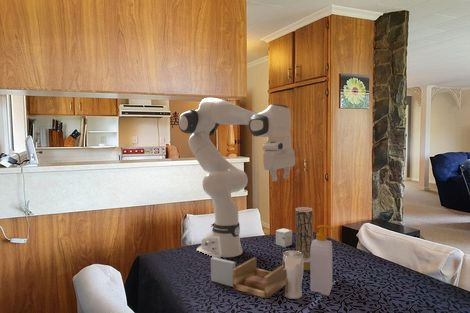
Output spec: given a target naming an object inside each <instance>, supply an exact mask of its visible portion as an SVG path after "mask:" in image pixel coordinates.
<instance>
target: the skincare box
mask: <svg viewBox="0 0 470 313" xmlns="http://www.w3.org/2000/svg"><path fill="white" fill-rule="evenodd" d="M275 245H277V246H279V247H284V248H285V247H289V246H292V245H293V230H292V229H289V228H279V229H277V230H276V229H275Z"/></svg>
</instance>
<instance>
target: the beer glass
mask: <svg viewBox="0 0 470 313" xmlns="http://www.w3.org/2000/svg"><path fill="white" fill-rule="evenodd" d="M282 265H283V274H284V280H285V285H284V287H285V290H284V296H285V297H286V298H288V299H292V300H296V299H301V298H302V297H303V291H302V284H303V280H304V279H303V277H304V271H305V270H304V262H303V253H301V252H299V251H296V250H287V251H284V252H283V254H282Z"/></svg>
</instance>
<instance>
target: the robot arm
mask: <svg viewBox="0 0 470 313" xmlns="http://www.w3.org/2000/svg"><path fill="white" fill-rule="evenodd" d="M177 123H178V124H177V125H178V128H179V130H180V131H181V132H182V133H184V134H188V135H190V136H189V138H188V141H187V142H188V146H189V149H190V151H191V153H192V154H193V156H194V158H195V159H196V161H197V162H198V164H199V165H200V167H201V168H202V170H204V171H205V172H206V173H208V174H206V175H205V176H204V177H203V180H202V189H203V191H204V192H205V194H207V195H208V197H210V199H211V201H212V204H213V208H214V223H212V224H210V228H211V227H212V229H211V230H210V231H209V232H208V233H207V234H205V235H204V237H202V239H201V243H200V245H199V246H198V247H197V248H196V252H197V251H199V252H198V253H200V252H202V253H204V254H203V255H205V254H207V255H206V256H208V255H209V256H208V257H210V256H212V257H211V258H213V257H216V258H220V259H222V258H221V257H223V258H234V257H238V256H240V255H242V254H243V252H244V251H243V248H242V245H241V240H240V230H241V229H240V222H239V206H238V204H237V203H235V202H234V200H233V197H232V193H238V192H239V191H241V190H243V189H245V188H246V187H247V185H248V181H249V178H248V176H247V173H246V172H245V171H243V170H242V169H239V168H237V167H236V166H235V165H233V164H232V163H230V162H229V161H228V160H227V159H226V158H224V156H223V155H222V154H221V153H220V151H219V150H218V148H217V147H216V145H215V144H214V143H213V141H211V137H210V136H214V135H215V132H216V131H217V130H218V128H219V125H223V126H224V125H225V126H230V125H232V126H236V125H238V126H239V125H245V126H248V130H249V132H250V134H251V135H252V136H253V137H257V138H268V140H267V141H266V142H265V143H264V144H262V150H263V154H262V157H263V159H262V161H263V168H264V170H265V171H269V174H270V176H271V181H272V182H277V181H278V179H279V178H278V175H277V171H278V170H280V169H283V170H284V173H283V174H282V176H283V179H289V178H290V171H291V167H295V165H296V157H295V156H296V155H295V150H294V148H293V146H292V134H291V128H292V117H291V110H290V107H289V106H288V105H286V104H277V103H272V104H269V105H268V107H267V108H265V109H264V110H262V111H260V112H255V111H252V110H249V109H246V108H244V107H241V106H239V105H237V104H234V103H233V102H230V101H228V100H225V99H222V98H218V97H205V98H203V99H202V100H201V101H200V103H199V106H198V108H197V109H193V108H192V109H190V110H188V111H185V112H182V113H180V116H179V118H178V122H177ZM202 253H201V254H202Z"/></svg>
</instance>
